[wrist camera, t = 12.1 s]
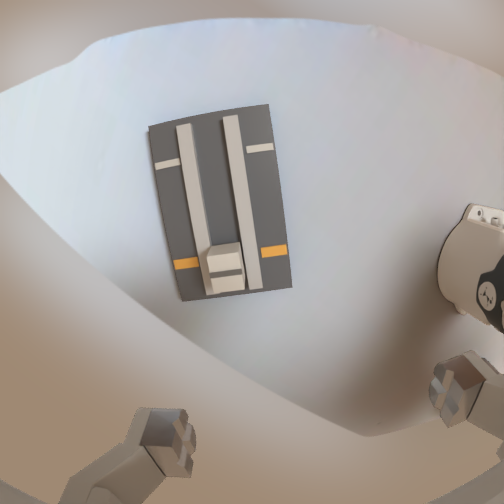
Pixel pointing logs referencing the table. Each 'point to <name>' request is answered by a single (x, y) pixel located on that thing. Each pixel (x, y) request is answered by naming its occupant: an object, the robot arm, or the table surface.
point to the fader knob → (226, 267)
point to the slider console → (222, 197)
